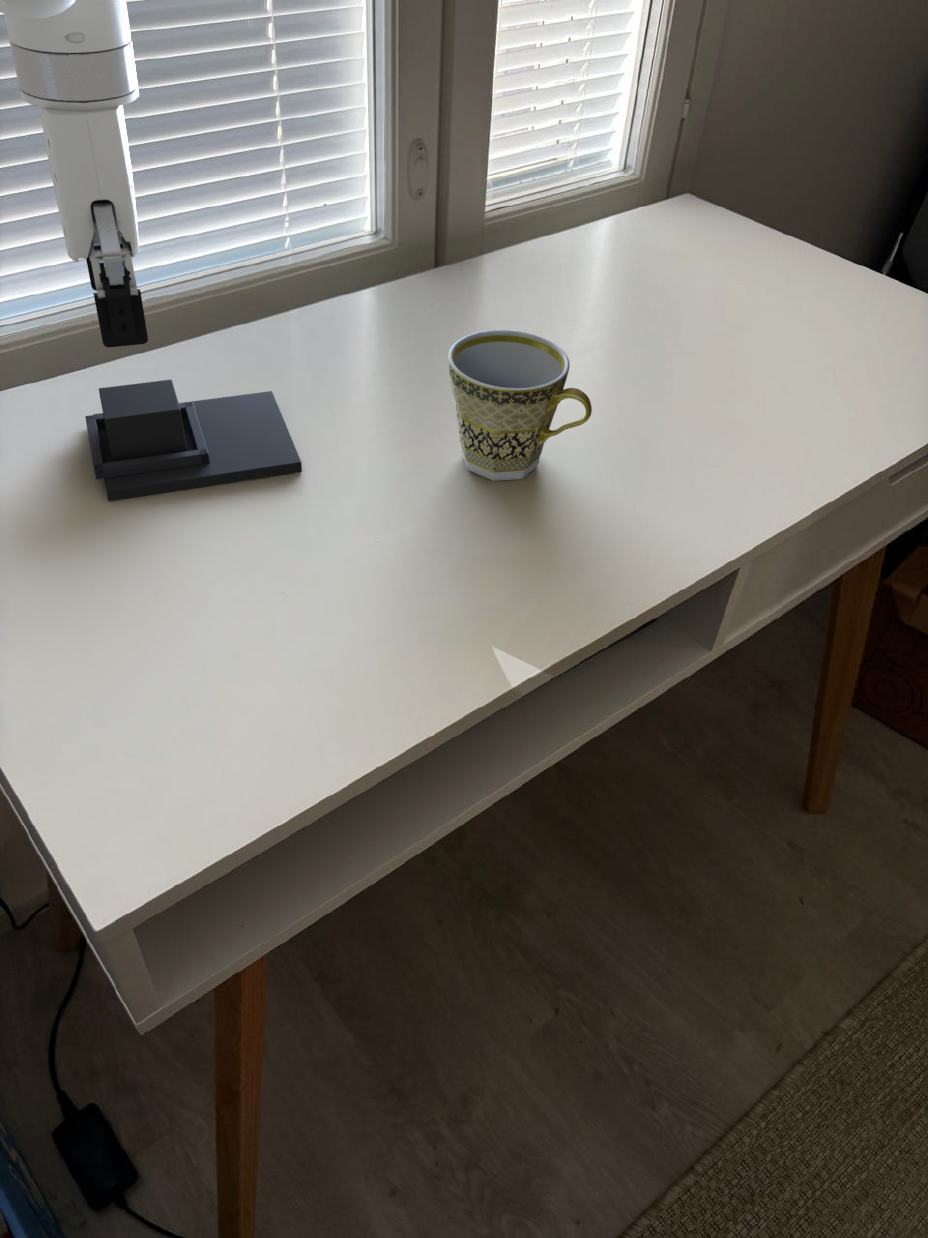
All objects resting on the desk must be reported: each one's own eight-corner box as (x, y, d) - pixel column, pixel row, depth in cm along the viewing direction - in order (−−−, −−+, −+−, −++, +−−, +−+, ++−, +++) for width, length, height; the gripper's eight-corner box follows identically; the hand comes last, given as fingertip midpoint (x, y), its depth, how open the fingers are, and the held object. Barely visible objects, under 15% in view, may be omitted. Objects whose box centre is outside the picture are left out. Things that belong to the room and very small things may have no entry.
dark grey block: (114, 466, 84) (104, 419, 81) (108, 433, 87) (98, 387, 84) (187, 455, 86) (180, 409, 83) (178, 424, 89) (171, 378, 86)
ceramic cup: (420, 464, 88) (424, 361, 81) (482, 416, 95) (491, 317, 88) (548, 521, 83) (563, 416, 77) (604, 467, 90) (623, 365, 83)
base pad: (100, 502, 82) (95, 482, 81) (87, 424, 90) (83, 404, 89) (302, 471, 87) (300, 451, 85) (272, 400, 95) (271, 381, 93)
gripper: (11, 37, 71) (60, 272, 83) (20, 112, 60) (76, 374, 71) (121, 36, 74) (154, 265, 85) (151, 108, 62) (185, 362, 73)
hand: (119, 314), depth 78 cm, fingers open, 9 cm apart
